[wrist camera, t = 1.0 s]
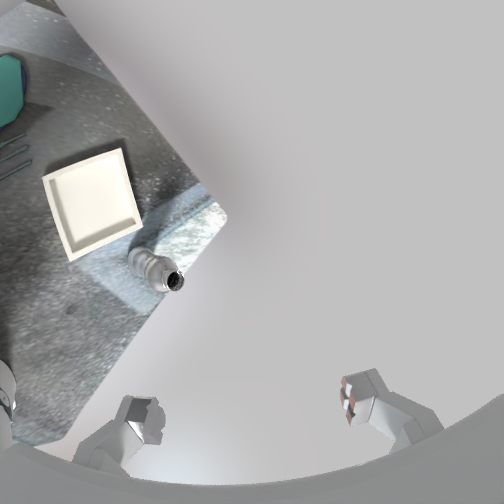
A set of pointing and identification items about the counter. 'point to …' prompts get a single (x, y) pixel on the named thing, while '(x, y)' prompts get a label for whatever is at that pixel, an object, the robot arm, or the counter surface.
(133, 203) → the ceramic dish
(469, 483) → the robot arm
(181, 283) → the plastic bottle
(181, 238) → the counter surface
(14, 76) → the cutlery set
